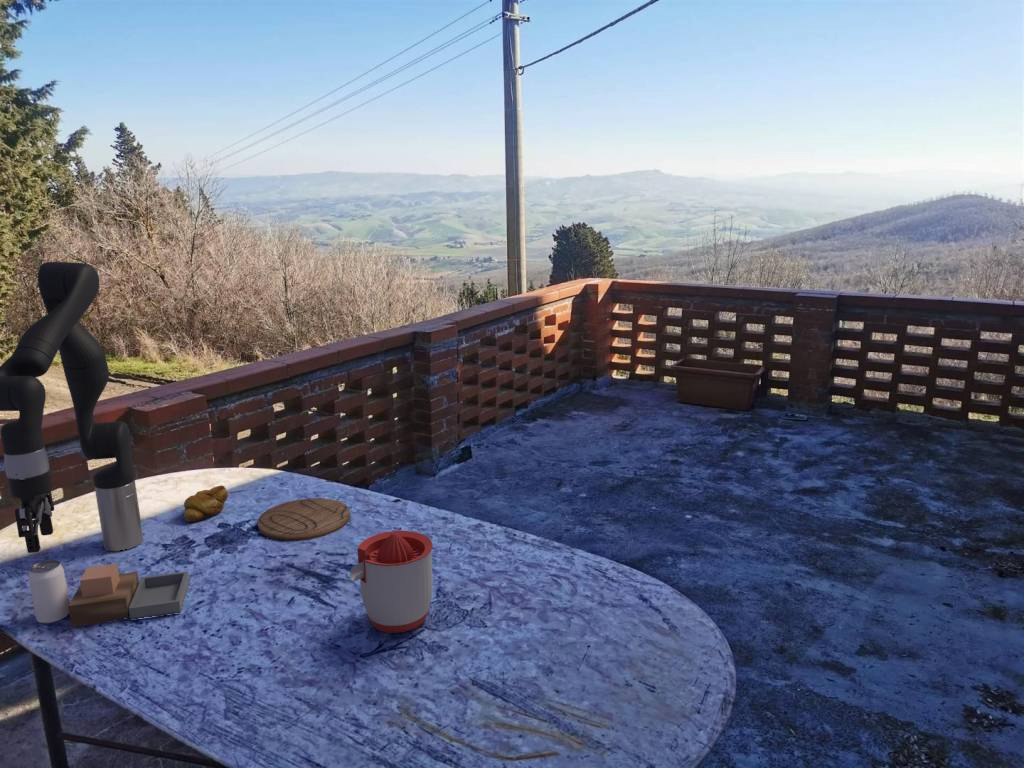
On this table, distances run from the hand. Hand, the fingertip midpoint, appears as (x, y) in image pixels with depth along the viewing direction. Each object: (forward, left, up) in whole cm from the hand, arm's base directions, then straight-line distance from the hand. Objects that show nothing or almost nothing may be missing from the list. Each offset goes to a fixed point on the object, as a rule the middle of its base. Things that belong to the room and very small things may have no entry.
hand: (41, 542), depth 155 cm
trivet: (-35, +53, -18) cm, 66 cm away
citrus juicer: (+23, +71, -18) cm, 77 cm away
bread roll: (-48, +25, -18) cm, 57 cm away
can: (0, 0, -18) cm, 18 cm away
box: (0, +21, -17) cm, 28 cm away
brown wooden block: (0, +10, -17) cm, 20 cm away
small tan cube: (0, +10, -12) cm, 16 cm away
